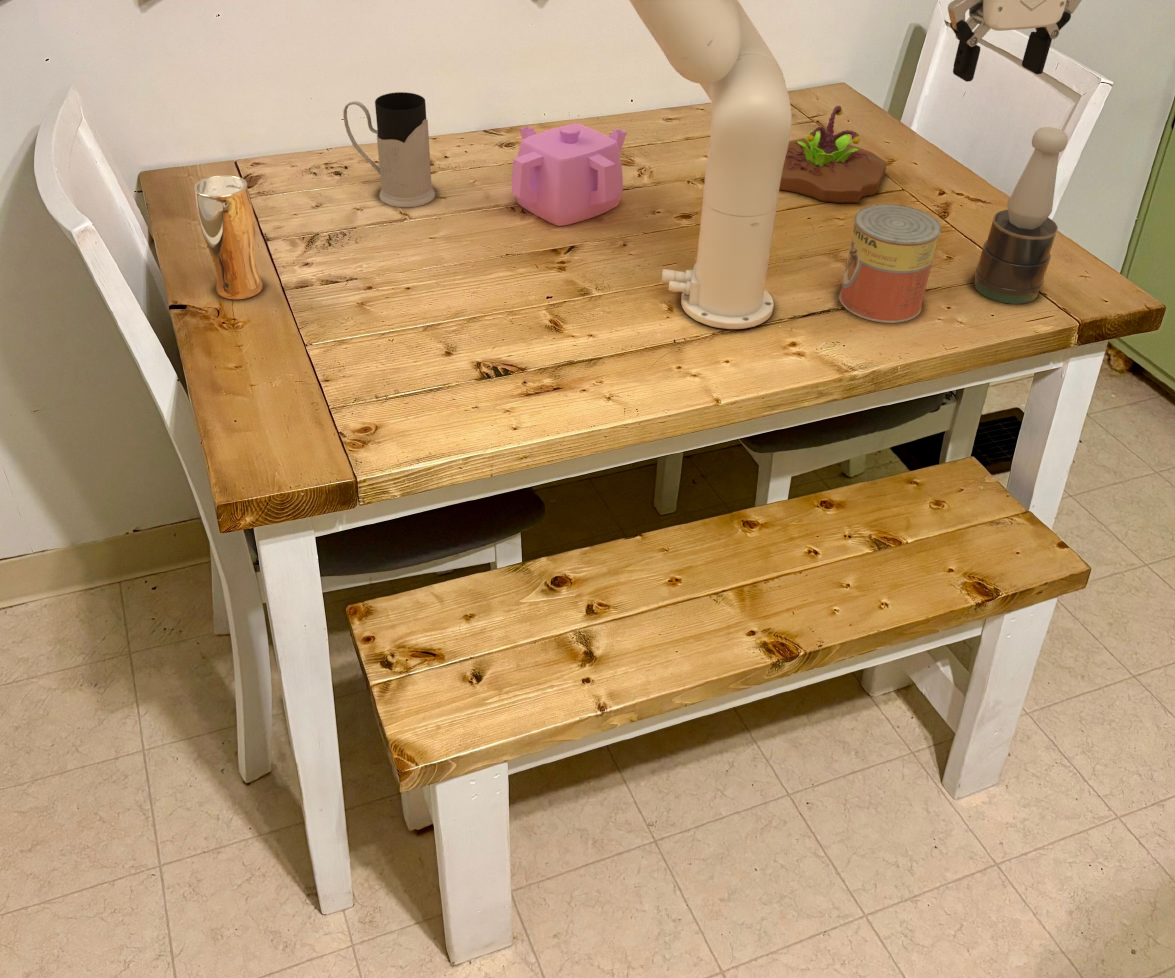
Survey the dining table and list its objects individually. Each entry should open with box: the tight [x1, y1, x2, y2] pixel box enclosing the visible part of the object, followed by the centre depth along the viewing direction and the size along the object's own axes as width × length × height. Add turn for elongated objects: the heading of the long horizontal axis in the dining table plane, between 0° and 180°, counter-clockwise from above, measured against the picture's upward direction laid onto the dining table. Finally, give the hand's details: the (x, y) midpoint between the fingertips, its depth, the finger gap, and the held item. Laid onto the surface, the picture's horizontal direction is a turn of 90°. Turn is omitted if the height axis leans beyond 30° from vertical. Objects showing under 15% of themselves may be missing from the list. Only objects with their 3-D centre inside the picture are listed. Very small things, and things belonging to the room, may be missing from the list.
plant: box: [779, 105, 887, 204], centre depth 185 cm, size 20×20×11 cm
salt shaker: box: [1006, 126, 1069, 230], centre depth 150 cm, size 6×6×13 cm
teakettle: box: [510, 122, 628, 227], centre depth 173 cm, size 17×17×12 cm
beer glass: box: [193, 174, 264, 301], centre depth 149 cm, size 7×7×15 cm
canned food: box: [838, 203, 942, 324], centre depth 153 cm, size 11×11×12 cm
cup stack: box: [973, 209, 1058, 305], centre depth 158 cm, size 9×9×10 cm
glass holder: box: [342, 91, 436, 208], centre depth 174 cm, size 9×14×15 cm, turn 71°
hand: (997, 73), depth 132 cm, fingers open, 9 cm apart
